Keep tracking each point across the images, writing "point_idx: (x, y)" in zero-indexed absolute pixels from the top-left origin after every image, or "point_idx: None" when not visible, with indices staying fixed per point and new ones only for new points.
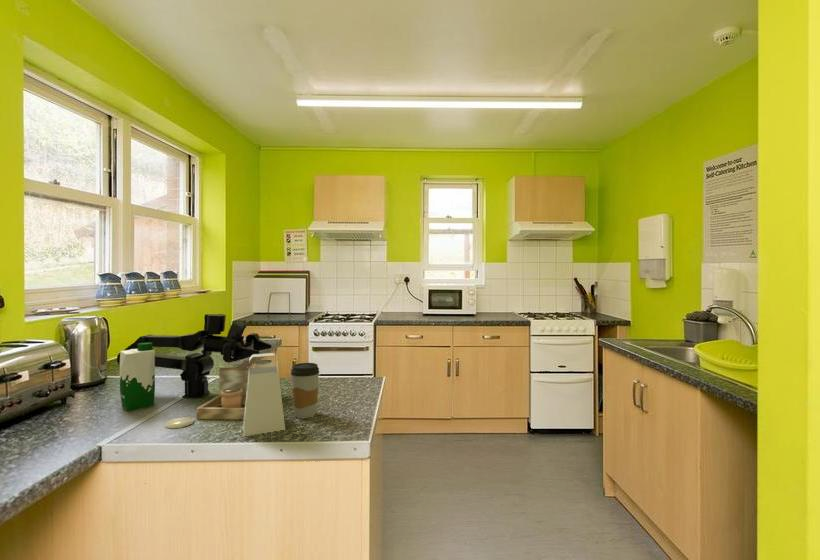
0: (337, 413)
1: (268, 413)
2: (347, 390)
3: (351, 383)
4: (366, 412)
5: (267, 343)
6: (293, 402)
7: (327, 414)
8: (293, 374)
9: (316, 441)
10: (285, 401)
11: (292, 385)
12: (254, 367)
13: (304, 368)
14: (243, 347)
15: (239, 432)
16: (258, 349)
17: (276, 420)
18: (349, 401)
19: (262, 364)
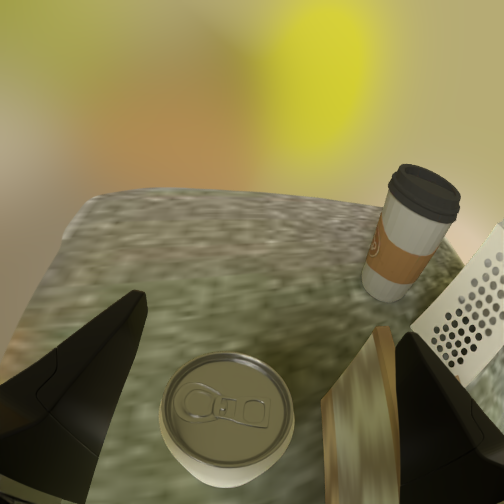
0: (354, 237)
1: (489, 297)
2: (189, 226)
3: (127, 222)
4: (336, 205)
5: (104, 316)
6: (416, 277)
7: (364, 251)
8: (456, 215)
9: (455, 255)
10: (292, 356)
11: (437, 245)
12: (273, 462)
13: (451, 184)
14: (488, 444)
15: (489, 369)
16: (94, 446)
17: (471, 297)
18: (278, 222)
19: (287, 398)
